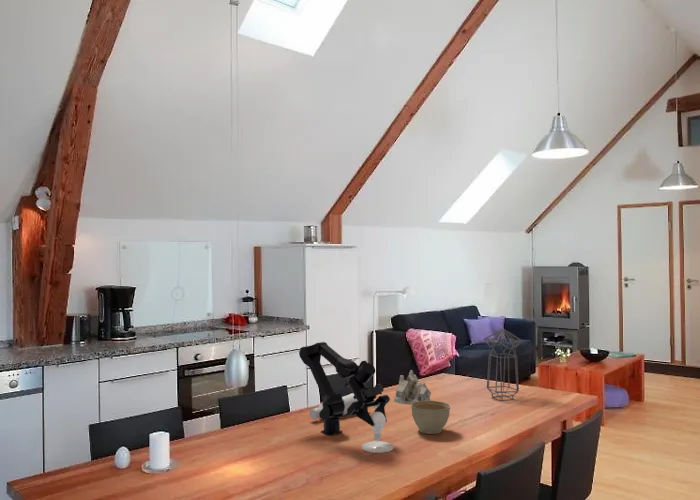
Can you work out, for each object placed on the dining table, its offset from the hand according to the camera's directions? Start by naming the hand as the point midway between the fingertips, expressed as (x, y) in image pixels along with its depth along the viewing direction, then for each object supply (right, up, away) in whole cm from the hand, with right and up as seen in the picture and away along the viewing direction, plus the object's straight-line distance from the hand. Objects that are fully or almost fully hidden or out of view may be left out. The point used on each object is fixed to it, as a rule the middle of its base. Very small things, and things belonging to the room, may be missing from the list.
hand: (379, 424), depth 228 cm
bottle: (-16, -10, +46) cm, 50 cm away
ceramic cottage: (+20, -10, +72) cm, 76 cm away
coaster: (-1, -9, +1) cm, 9 cm away
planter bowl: (+22, -9, +22) cm, 32 cm away
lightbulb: (-1, -7, +1) cm, 7 cm away
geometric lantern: (+67, -9, +77) cm, 102 cm away
